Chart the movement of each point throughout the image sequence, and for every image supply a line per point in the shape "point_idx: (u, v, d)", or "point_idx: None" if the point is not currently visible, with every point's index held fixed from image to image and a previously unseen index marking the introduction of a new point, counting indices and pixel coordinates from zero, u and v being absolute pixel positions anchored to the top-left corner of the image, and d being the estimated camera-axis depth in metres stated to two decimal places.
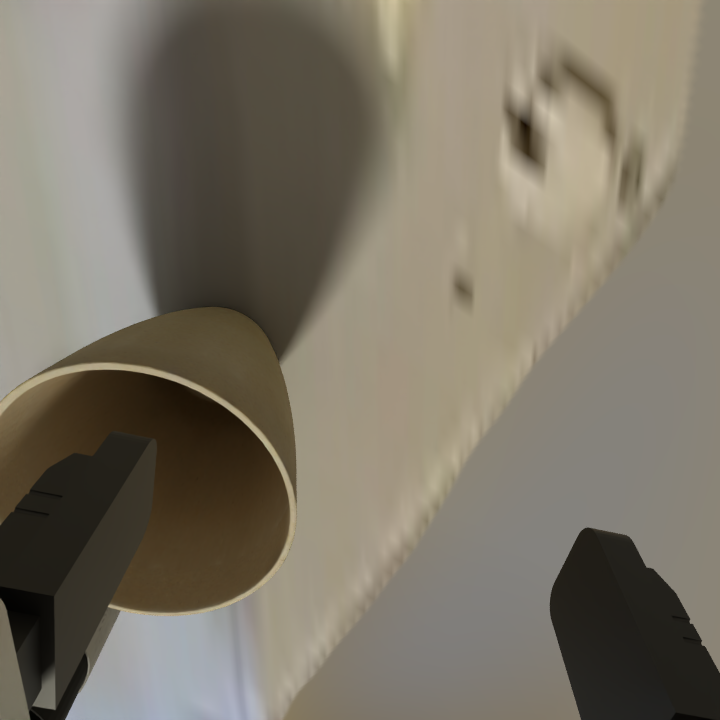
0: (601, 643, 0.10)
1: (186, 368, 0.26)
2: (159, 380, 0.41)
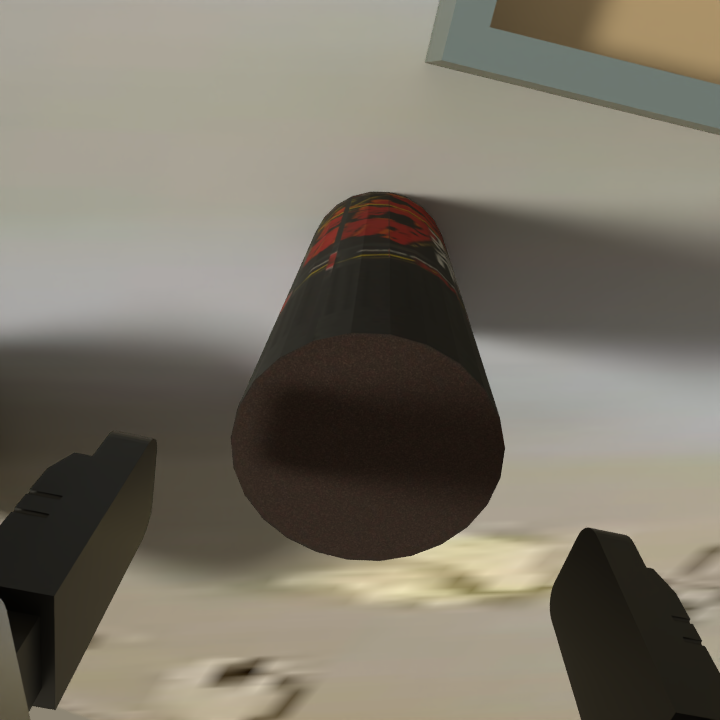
0: (600, 643, 0.10)
1: None
2: None
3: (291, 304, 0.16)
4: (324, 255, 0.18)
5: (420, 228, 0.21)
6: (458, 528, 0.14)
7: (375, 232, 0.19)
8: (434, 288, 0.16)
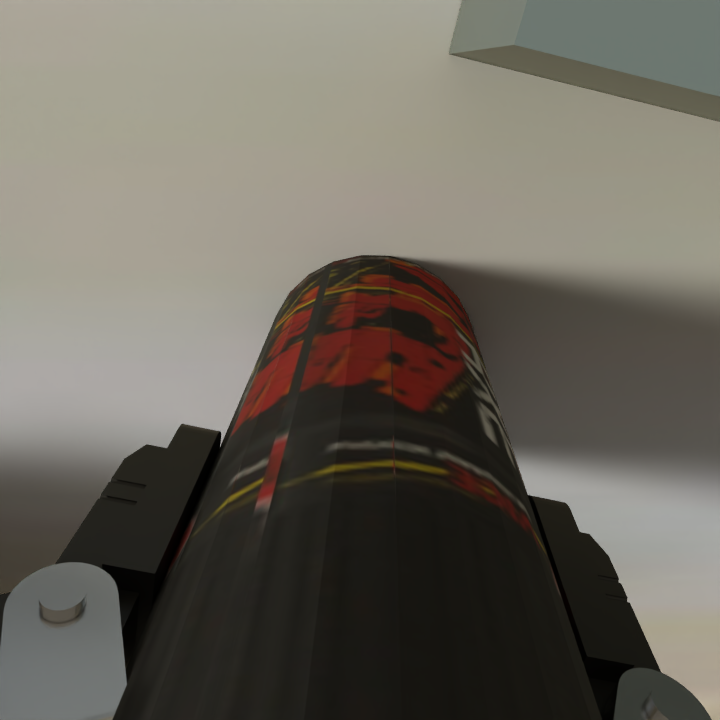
0: None
1: None
2: None
3: (169, 611, 0.07)
4: (265, 434, 0.09)
5: (444, 340, 0.12)
6: None
7: (364, 374, 0.10)
8: (501, 578, 0.07)
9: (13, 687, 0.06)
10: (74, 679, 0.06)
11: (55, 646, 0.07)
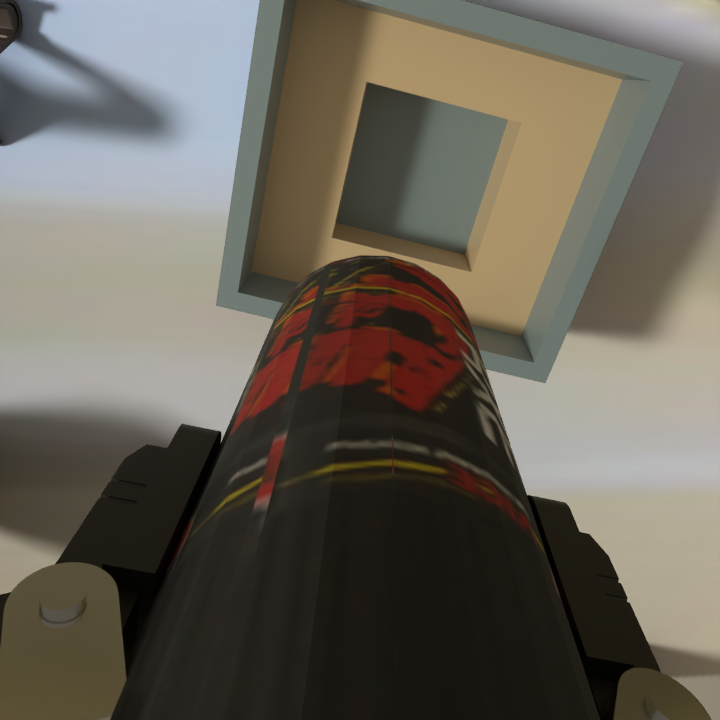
0: None
1: None
2: None
3: (168, 610, 0.07)
4: (264, 433, 0.09)
5: (443, 339, 0.12)
6: None
7: (364, 374, 0.10)
8: (499, 577, 0.07)
9: (13, 687, 0.06)
10: (74, 679, 0.06)
11: (55, 646, 0.07)
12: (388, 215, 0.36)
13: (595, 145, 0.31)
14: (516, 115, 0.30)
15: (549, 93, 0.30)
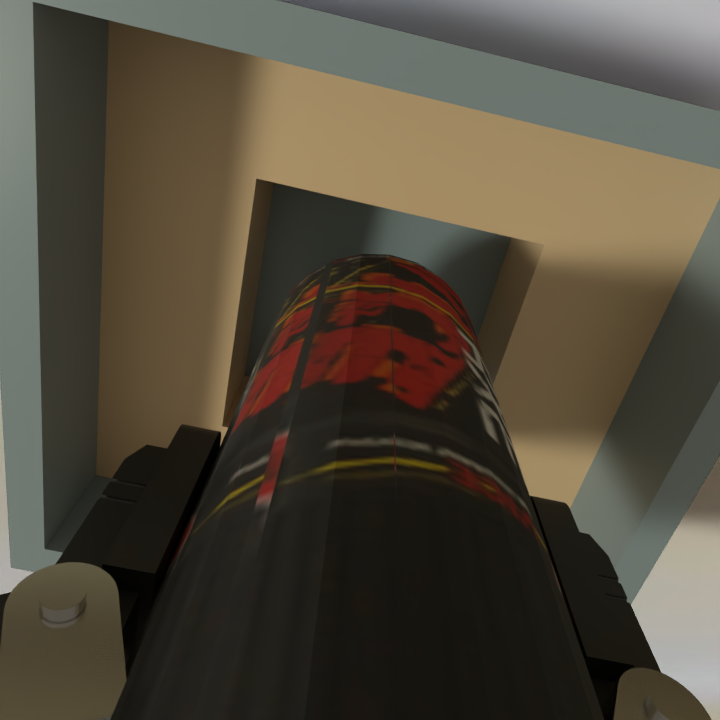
0: None
1: None
2: None
3: (169, 608, 0.07)
4: (265, 431, 0.09)
5: (445, 338, 0.12)
6: None
7: (365, 371, 0.10)
8: (501, 574, 0.07)
9: (13, 687, 0.06)
10: (74, 679, 0.06)
11: (55, 646, 0.07)
12: None
13: (677, 278, 0.17)
14: (534, 232, 0.16)
15: (596, 194, 0.16)
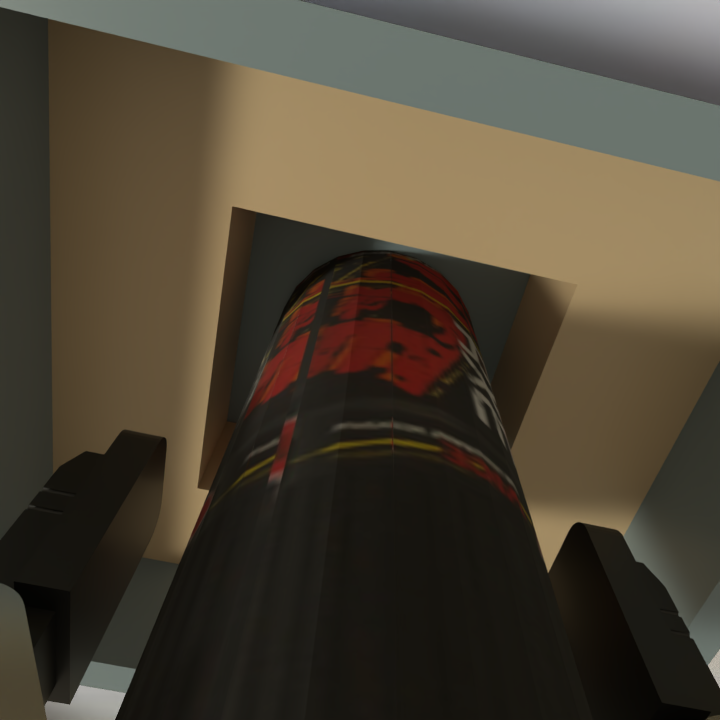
0: (590, 636, 0.10)
1: None
2: None
3: (194, 570, 0.08)
4: (275, 416, 0.10)
5: (442, 330, 0.13)
6: None
7: (367, 362, 0.11)
8: (486, 540, 0.08)
9: None
10: None
11: None
12: None
13: None
14: (566, 270, 0.14)
15: (642, 225, 0.13)
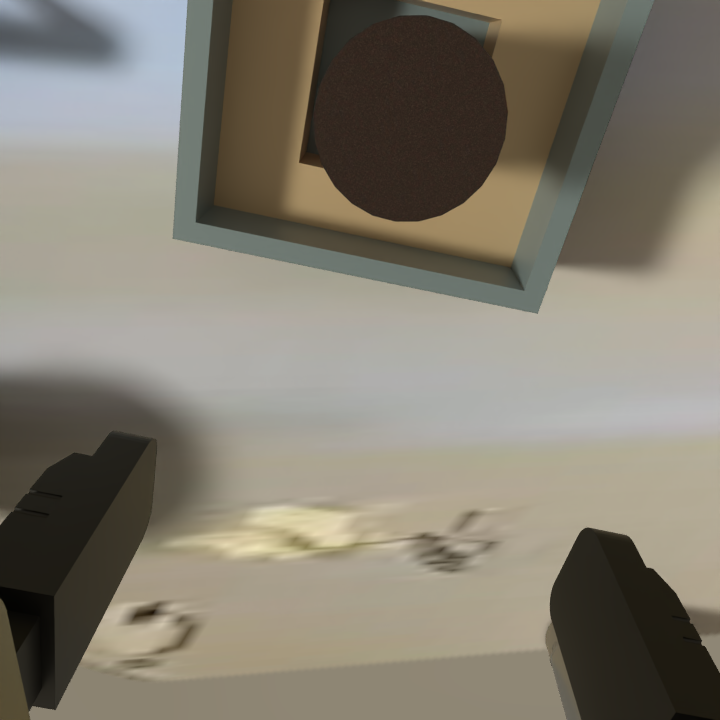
0: (601, 643, 0.10)
1: None
2: None
3: None
4: None
5: None
6: (476, 187, 0.19)
7: None
8: None
9: None
10: None
11: None
12: None
13: (585, 43, 0.28)
14: (496, 11, 0.27)
15: None
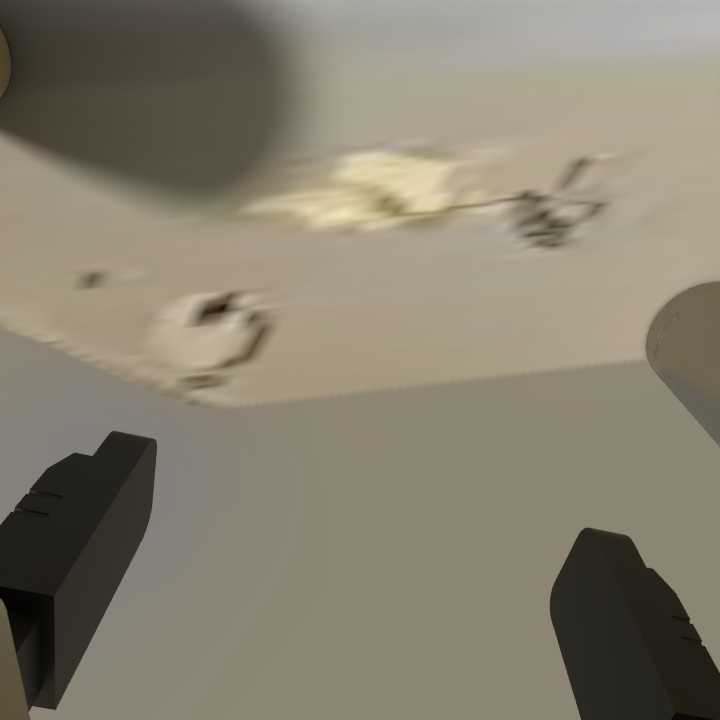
0: (601, 643, 0.10)
1: None
2: None
3: None
4: None
5: None
6: None
7: None
8: None
9: None
10: None
11: None
12: None
13: None
14: None
15: None
